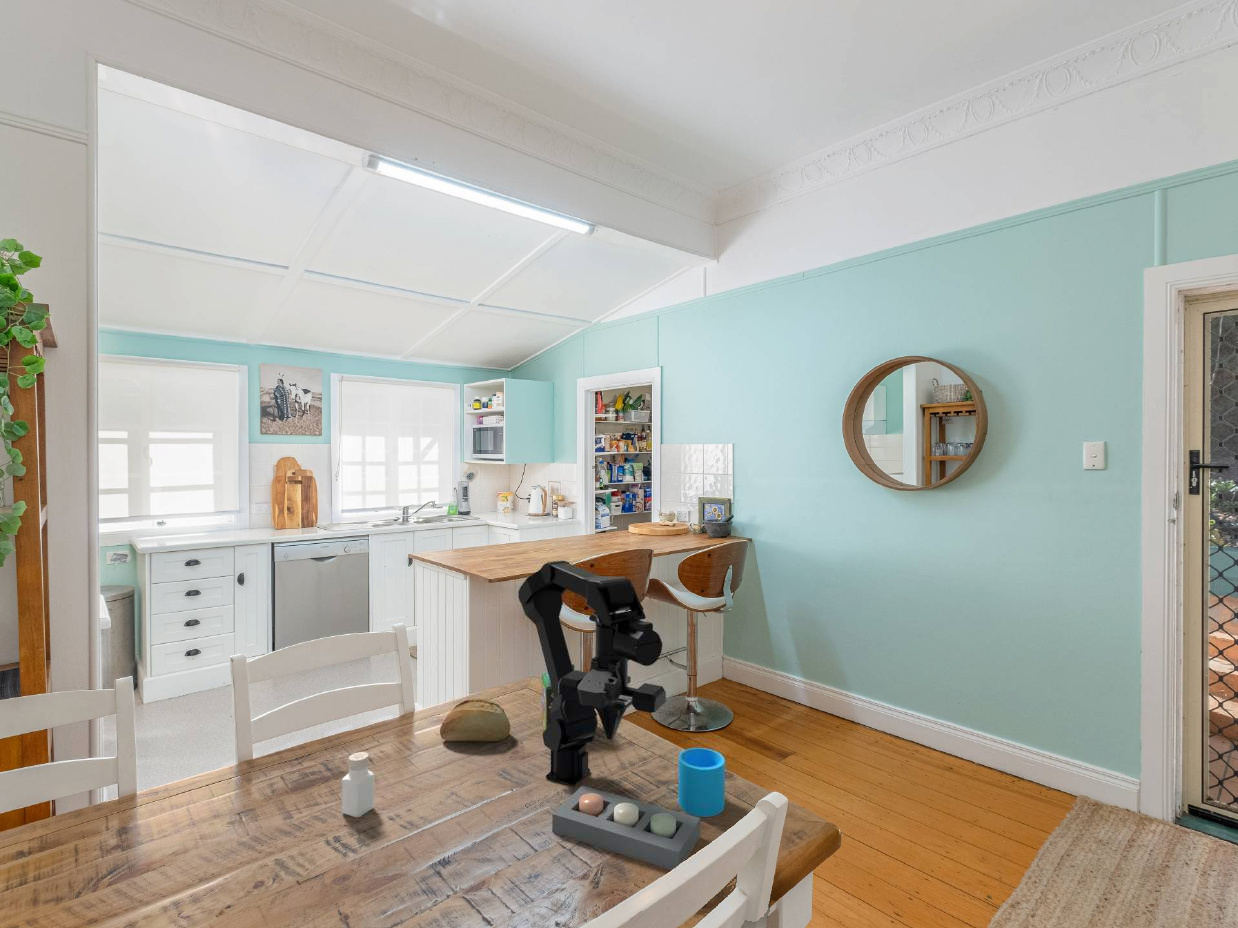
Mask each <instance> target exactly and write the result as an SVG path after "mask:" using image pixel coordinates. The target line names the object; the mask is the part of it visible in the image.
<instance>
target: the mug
mask: <svg viewBox="0 0 1238 928" xmlns="http://www.w3.org/2000/svg"><path fill="white" fill-rule="evenodd" d="M725 783H726V759H725V757H724V756H723V754H721V752H719V751H716V750H714V749H710V748H704V747H692V748H688V749H685V750H682V751H681V752H680V753H679V754H678V791H677V792H678V795H677V796H678V799H677V801H678V802H677V803H678V806H679V807H680V809H681V810H682V811H684V813H685V814H688V815H691V816H695V817H699V818H702V817H705V818H708V817H709V818H710V817H714V816H718V815H719V814H721V813H722V812H723V811H724V809H725V800H726V799H725V797H726V796H725V793H726V792H725V790H726V788H725V787H726V786H725V785H726V784H725Z"/></svg>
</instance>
